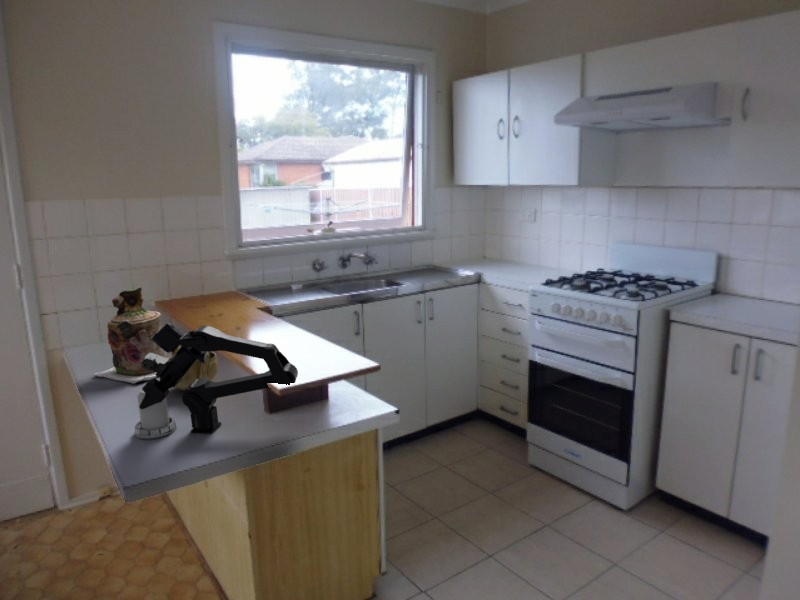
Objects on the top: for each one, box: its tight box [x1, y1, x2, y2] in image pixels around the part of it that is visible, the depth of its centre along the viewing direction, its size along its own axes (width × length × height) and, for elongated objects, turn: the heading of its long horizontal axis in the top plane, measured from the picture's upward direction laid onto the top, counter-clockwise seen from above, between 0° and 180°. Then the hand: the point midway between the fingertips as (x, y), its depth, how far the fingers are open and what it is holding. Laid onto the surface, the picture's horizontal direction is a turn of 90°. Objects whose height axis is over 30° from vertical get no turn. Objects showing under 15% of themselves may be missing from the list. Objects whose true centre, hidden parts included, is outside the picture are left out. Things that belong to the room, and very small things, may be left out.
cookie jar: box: [93, 286, 169, 384], centre depth 221 cm, size 25×25×32 cm
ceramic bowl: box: [167, 345, 219, 392], centre depth 203 cm, size 22×17×15 cm
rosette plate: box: [134, 415, 177, 441], centre depth 172 cm, size 11×11×2 cm
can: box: [136, 388, 170, 430], centre depth 170 cm, size 8×8×12 cm
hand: (146, 401), depth 170 cm, fingers open, 9 cm apart
